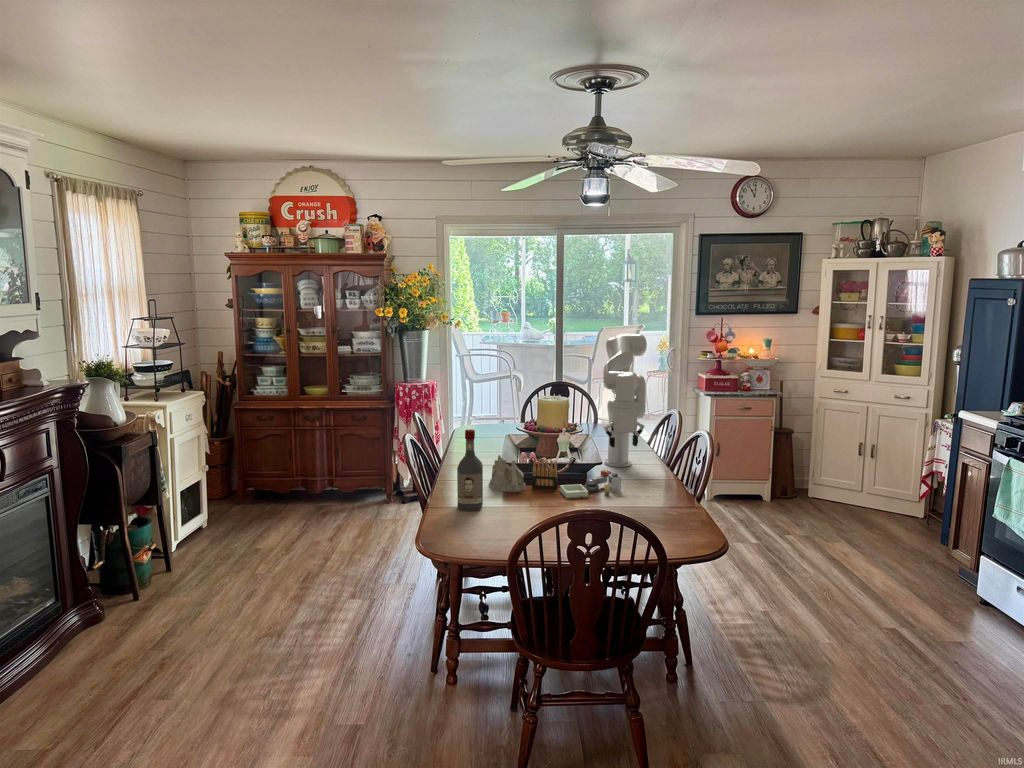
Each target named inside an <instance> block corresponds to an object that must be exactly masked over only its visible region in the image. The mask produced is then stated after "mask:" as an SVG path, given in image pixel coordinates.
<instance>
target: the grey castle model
mask: <svg viewBox="0 0 1024 768" xmlns="http://www.w3.org/2000/svg"><path fill="white" fill-rule="evenodd" d="M491 469H492V471H491V479H490V480H489V482H488V483H489V484H488V486H489V488H490V490H492V491H497V492H503V493H504V492H505V493H506V492H510V493H511V492H512V493H514V492H515V493H518V492H519V493H520V492H524V491H526V490H527V486H526V485H527V484H526V483H525V481H524V475H525V474H524V473H523V471H522V470H520V469H519V468H518V466H517V463H516V460H515V459H512V460H511V466H510V464H507V460H506V459H504V458H503V457H501V455H500V454H498V456H497V460H496V459H494V464H493V465H492V468H491Z"/></svg>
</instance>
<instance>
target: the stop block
mask: <svg viewBox="0 0 1024 768" xmlns="http://www.w3.org/2000/svg"><path fill="white" fill-rule="evenodd" d="M607 484H609V485H610V489H609V493H613V494H616V493H622V488H621V486H622V476H621V475H620V474H618V473H617V472H614V473H611V475H609V477H607Z"/></svg>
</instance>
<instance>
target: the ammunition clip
mask: <svg viewBox="0 0 1024 768" xmlns="http://www.w3.org/2000/svg"><path fill="white" fill-rule="evenodd" d="M557 463H558V461H557V460H555V461H554V463H553V460H552V459H551V460H550V463H549V461H548V459H547V460H546V461H545V460H544V459H542V461H540V459H537V461H536V459H533V467H532V479H531V480H532V481H531V482H532V483H531V488H533V489H545V490H546V489H548V490H549V489H550V490H558V488H559V485H558V480H559V479H558V464H557Z"/></svg>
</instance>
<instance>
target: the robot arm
mask: <svg viewBox="0 0 1024 768" xmlns="http://www.w3.org/2000/svg"><path fill="white" fill-rule="evenodd" d="M647 345H648V343H647V339H646V336H644V335H643V334H640V333H620V334H618V335H616V336H615V337H610V338H608V339H607V340H606V343H605V348H606V352H607V357H608V359H609V360H607V362H606V363H605V364H604V367H603V371H602V373H603V374H602V375H603V377H602V378H603V379H602V380H603V386H604V387H605V389H607V390H611V392H612V393H613V394H614V395H615V397H613V398H610V399H609V400H608V402H607V415H608V416H607V417H608V423H607V424H605V425H603V430H604V432H605V434H606V435H607V436H608V442H607V443H608V444H607V445H608V446H607V451H608V452H607V459H604V464H605V465H606V466H609V467H615V468H626V467H630V466H632V460H630V459H629V446H630V444H629V443H630V434H631V433H632V434H633V435H632V446H634V447H638V444H639V437H640V435H641V434H642V433H643V431H644V429H645V427H646V426H645V425H644V424H642V423H640V422H639V421H638V419H642V418H644V417H645V415H646V405H647V404H646V402H647V401H646V399H647V398H646V392H647V387H646V380H645V379H646V378H645V377H644V376H643V375H641V374H637V373H636V372H634V371H630V370H631V369H630V367H631V365H632V364H633V363H634V359H635V358H634V357H641V356H643V355H644V354H645V353H646V351H647ZM638 427H639V428H638Z"/></svg>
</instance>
